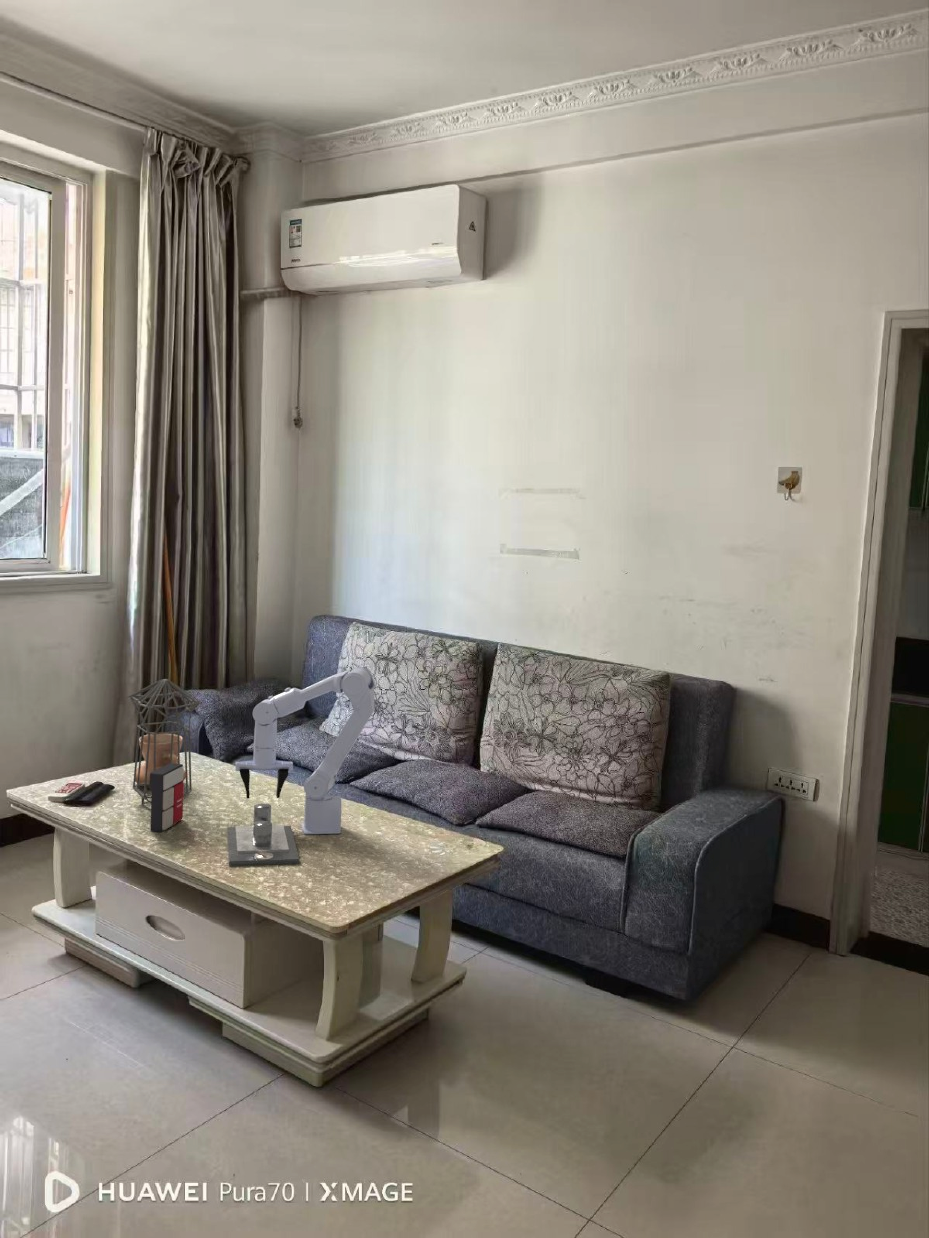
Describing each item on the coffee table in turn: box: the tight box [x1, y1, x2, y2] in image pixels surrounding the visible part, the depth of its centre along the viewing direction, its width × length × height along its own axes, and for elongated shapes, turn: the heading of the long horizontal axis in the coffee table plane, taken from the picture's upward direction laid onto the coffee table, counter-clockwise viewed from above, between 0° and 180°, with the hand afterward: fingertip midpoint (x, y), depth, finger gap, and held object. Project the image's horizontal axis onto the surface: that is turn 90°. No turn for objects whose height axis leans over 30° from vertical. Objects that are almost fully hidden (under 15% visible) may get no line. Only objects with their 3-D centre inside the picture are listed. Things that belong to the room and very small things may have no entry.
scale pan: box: [234, 824, 289, 853], centre depth 245 cm, size 12×18×1 cm, turn 14°
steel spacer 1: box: [253, 803, 272, 824], centre depth 260 cm, size 4×4×5 cm
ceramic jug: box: [135, 733, 186, 789], centre depth 287 cm, size 18×14×14 cm
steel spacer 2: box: [253, 821, 273, 847], centre depth 241 cm, size 4×4×5 cm
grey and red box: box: [148, 763, 185, 833], centre depth 254 cm, size 11×4×15 cm, turn 168°
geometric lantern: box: [126, 678, 202, 811], centre depth 268 cm, size 16×16×35 cm
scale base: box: [226, 825, 300, 867], centre depth 244 cm, size 16×24×2 cm, turn 14°
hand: (262, 797), depth 259 cm, fingers open, 7 cm apart
